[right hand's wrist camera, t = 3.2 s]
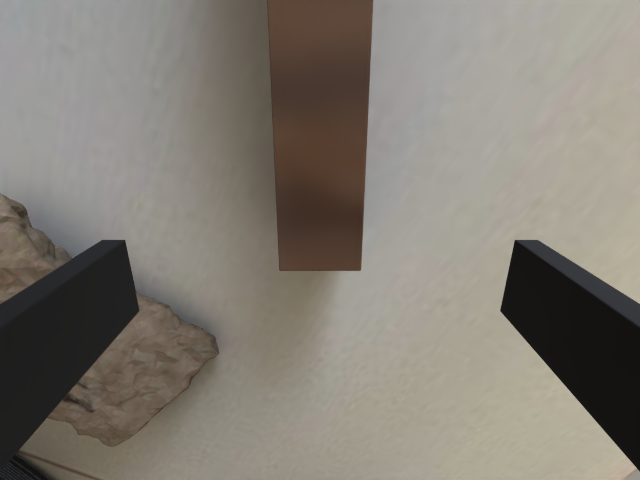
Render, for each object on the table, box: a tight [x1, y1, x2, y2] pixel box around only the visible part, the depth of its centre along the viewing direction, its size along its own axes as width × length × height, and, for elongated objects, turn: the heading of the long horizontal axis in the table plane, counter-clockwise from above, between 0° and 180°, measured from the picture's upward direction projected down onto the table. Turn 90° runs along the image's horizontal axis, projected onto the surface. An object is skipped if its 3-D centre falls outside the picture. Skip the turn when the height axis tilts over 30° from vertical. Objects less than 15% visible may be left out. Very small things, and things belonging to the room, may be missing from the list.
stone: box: [0, 194, 219, 447], centre depth 30 cm, size 21×15×6 cm
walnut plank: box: [267, 0, 373, 271], centre depth 20 cm, size 30×5×8 cm, turn 0°
